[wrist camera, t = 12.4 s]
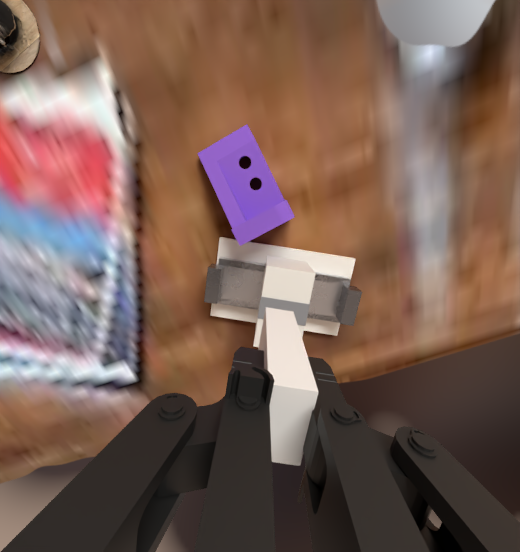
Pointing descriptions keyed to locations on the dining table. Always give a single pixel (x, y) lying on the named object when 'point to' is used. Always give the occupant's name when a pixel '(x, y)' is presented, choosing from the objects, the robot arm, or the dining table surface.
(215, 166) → the bracket
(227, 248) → the mount plate
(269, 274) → the block
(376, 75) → the dining table surface
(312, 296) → the rail
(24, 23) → the figurine
